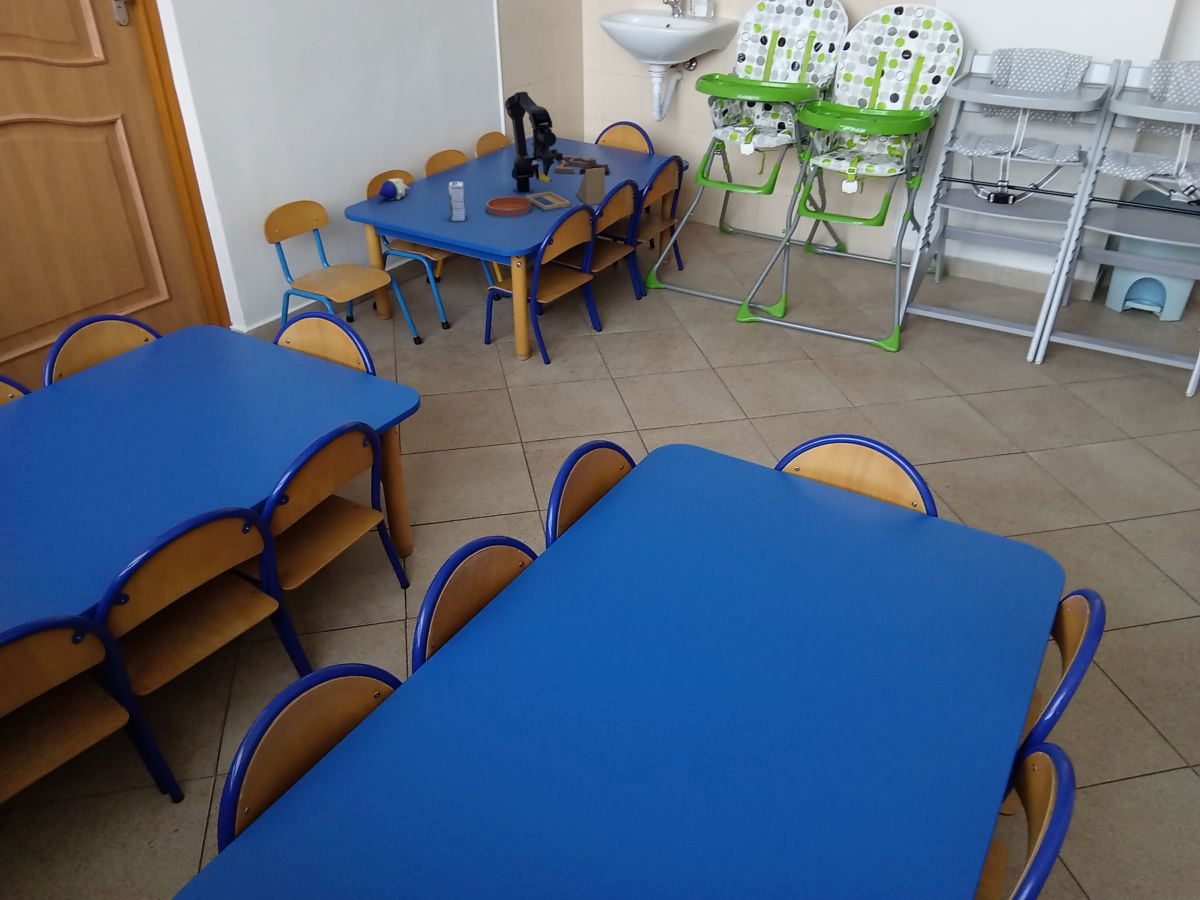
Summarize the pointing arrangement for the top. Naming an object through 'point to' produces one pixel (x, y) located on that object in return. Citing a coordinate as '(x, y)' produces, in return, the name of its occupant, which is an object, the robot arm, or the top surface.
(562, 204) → the tray
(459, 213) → the syrup box
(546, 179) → the banana
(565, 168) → the wood carving
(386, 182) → the cartoon head
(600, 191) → the sandwich container
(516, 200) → the bowl
